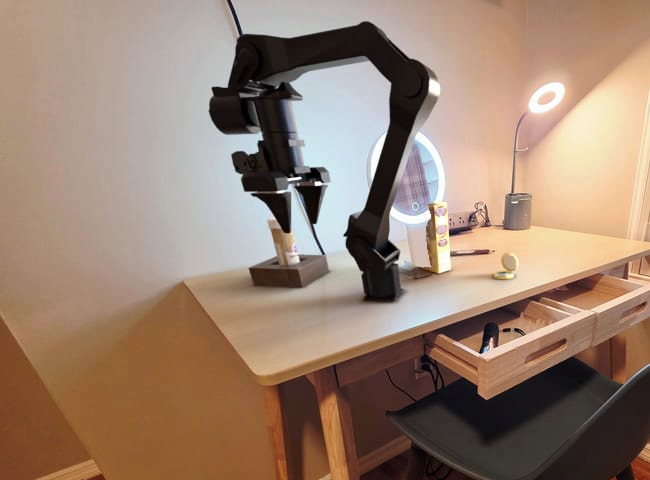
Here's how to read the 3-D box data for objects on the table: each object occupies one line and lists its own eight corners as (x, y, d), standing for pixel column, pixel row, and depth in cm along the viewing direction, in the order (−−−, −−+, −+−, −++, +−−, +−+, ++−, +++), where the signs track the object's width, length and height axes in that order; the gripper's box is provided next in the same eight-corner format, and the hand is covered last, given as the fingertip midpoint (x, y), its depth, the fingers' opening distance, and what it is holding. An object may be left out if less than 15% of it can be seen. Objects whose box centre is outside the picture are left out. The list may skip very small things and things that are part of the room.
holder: (329, 271, 91) (325, 255, 89) (302, 287, 81) (298, 269, 79) (285, 270, 93) (281, 254, 91) (253, 285, 83) (248, 267, 81)
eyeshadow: (490, 276, 85) (490, 255, 82) (503, 271, 88) (503, 250, 86) (506, 280, 82) (507, 258, 80) (518, 275, 86) (519, 253, 83)
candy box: (451, 270, 90) (448, 202, 82) (438, 274, 88) (434, 204, 80) (428, 263, 96) (423, 199, 88) (415, 267, 93) (409, 201, 85)
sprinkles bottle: (302, 280, 86) (287, 218, 79) (281, 282, 85) (264, 220, 78) (304, 274, 90) (290, 215, 83) (284, 276, 89) (268, 216, 82)
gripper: (271, 135, 73) (291, 219, 81) (195, 133, 57) (229, 238, 65) (323, 134, 71) (338, 220, 79) (260, 130, 55) (287, 239, 63)
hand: (301, 228), depth 71 cm, fingers open, 9 cm apart
